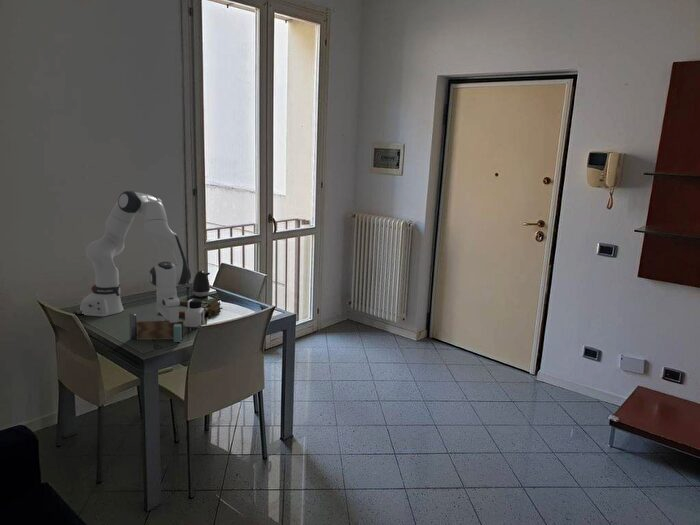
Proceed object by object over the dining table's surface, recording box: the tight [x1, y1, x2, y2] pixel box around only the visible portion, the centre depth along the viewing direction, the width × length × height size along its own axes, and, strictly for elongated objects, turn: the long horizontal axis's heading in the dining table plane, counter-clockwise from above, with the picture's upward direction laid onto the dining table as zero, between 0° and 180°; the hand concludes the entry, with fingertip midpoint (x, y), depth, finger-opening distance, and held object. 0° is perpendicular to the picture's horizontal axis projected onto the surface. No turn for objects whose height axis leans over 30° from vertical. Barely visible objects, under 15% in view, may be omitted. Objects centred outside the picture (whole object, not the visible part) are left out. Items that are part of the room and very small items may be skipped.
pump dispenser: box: [191, 270, 211, 298], centre depth 307 cm, size 10×10×15 cm
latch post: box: [173, 324, 183, 343], centre depth 238 cm, size 3×3×8 cm
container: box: [184, 298, 205, 328], centre depth 260 cm, size 8×8×13 cm
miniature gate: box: [157, 297, 223, 320], centre depth 279 cm, size 27×6×30 cm
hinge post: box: [128, 313, 138, 341], centre depth 237 cm, size 3×3×12 cm
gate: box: [137, 320, 185, 340], centre depth 239 cm, size 20×2×8 cm, turn 101°
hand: (167, 325), depth 242 cm, fingers closed
